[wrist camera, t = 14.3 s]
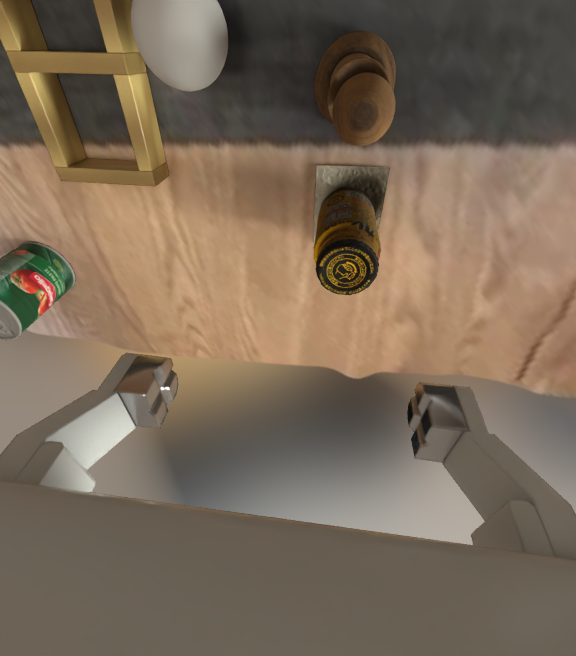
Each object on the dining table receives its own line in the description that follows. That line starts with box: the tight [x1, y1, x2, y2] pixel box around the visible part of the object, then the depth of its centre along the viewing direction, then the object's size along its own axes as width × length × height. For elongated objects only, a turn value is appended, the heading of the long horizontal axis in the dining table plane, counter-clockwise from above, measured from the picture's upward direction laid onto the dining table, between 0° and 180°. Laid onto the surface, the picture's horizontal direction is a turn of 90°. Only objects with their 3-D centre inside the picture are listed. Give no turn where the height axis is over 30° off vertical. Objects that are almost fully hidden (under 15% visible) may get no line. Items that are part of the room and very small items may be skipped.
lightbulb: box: [131, 0, 228, 91], centre depth 24 cm, size 6×6×11 cm
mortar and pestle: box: [315, 31, 396, 146], centre depth 22 cm, size 7×6×18 cm
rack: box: [0, 0, 169, 186], centre depth 29 cm, size 19×10×4 cm, turn 179°
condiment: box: [313, 165, 390, 295], centre depth 31 cm, size 7×8×12 cm
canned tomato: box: [0, 242, 75, 340], centre depth 42 cm, size 8×8×11 cm
